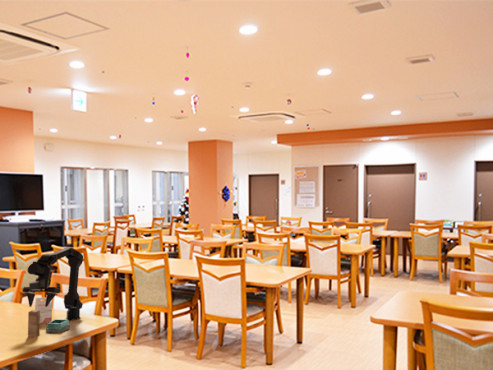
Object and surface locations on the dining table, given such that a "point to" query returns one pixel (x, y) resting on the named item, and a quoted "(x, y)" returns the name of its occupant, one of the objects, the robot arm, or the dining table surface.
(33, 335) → the rail post
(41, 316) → the ink cartridge box
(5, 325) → the dining table surface
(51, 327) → the teal square tray
